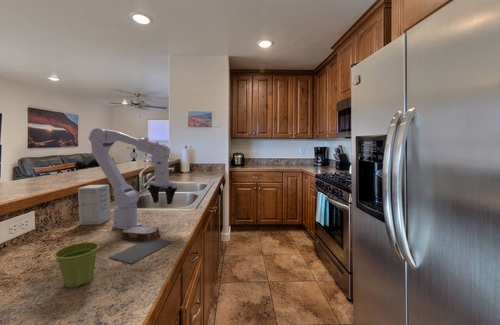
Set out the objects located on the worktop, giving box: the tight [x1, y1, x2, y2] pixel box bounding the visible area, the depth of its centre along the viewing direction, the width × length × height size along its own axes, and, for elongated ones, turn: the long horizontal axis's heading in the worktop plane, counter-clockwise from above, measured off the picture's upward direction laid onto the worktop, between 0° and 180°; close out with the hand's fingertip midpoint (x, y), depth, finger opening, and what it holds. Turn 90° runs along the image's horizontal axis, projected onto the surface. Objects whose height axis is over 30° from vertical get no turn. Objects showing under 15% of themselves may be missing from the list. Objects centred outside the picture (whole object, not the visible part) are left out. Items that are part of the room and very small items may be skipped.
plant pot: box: [53, 241, 100, 289], centre depth 62 cm, size 9×9×9 cm
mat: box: [108, 237, 174, 265], centre depth 82 cm, size 10×18×1 cm, turn 157°
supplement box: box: [77, 184, 112, 226], centre depth 112 cm, size 10×9×17 cm
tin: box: [120, 225, 160, 242], centre depth 94 cm, size 15×3×8 cm
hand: (162, 203), depth 105 cm, fingers open, 7 cm apart
